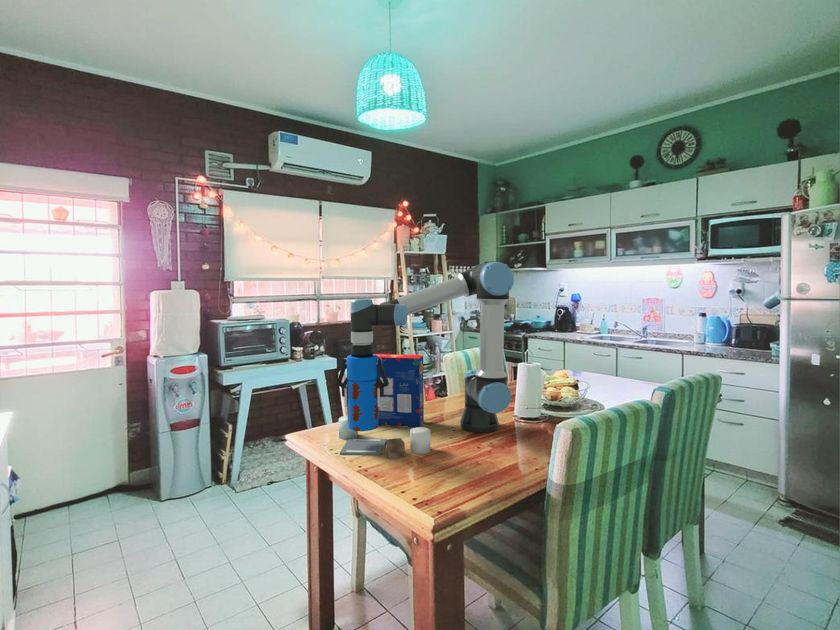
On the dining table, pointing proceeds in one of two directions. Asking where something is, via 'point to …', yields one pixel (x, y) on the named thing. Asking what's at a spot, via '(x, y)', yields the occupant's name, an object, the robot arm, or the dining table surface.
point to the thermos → (362, 393)
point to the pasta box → (402, 390)
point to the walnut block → (395, 448)
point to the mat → (363, 446)
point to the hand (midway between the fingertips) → (362, 405)
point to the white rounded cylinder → (420, 440)
